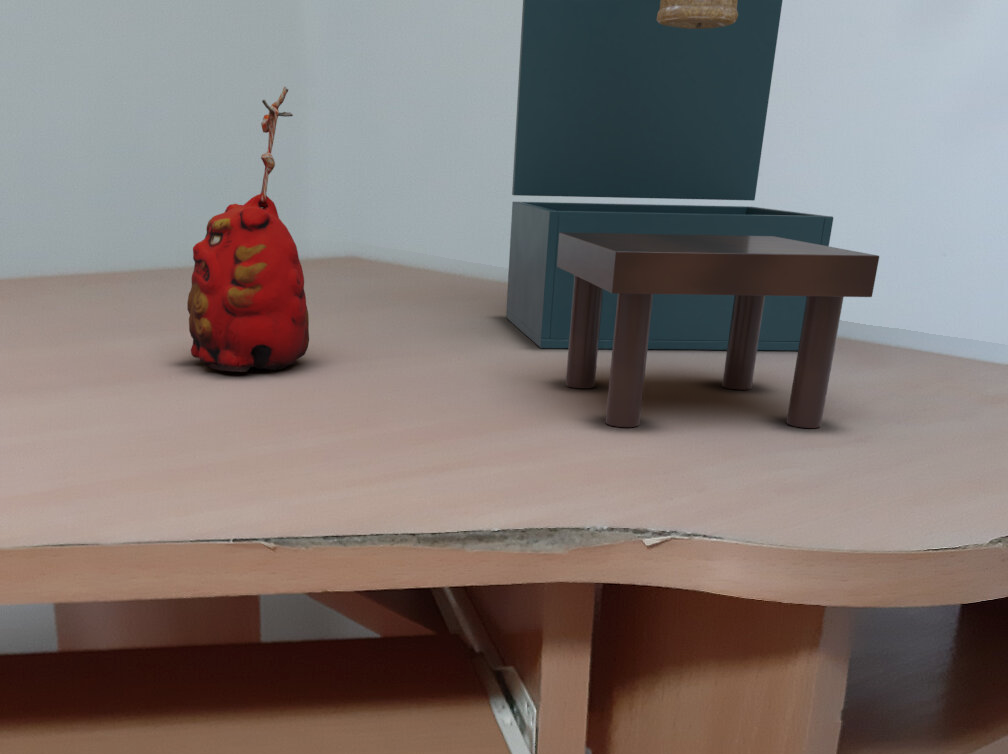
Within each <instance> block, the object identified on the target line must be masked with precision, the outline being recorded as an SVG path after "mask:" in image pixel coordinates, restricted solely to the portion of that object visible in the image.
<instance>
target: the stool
mask: <svg viewBox="0 0 1008 754" xmlns="http://www.w3.org/2000/svg"><path fill="white" fill-rule="evenodd" d="M879 260H880V256H879V255H877V254H872V253H867V252H860V251H855V250H851V249H845V248H839V247H833V246H830V245H829V246H824V245H818V244H813V243H807V242H802V241H796V240H791V239H785V238H780V237H775V236H729V235H676V234H622V233H568V232H560V233H559V243H558V257H557V267H559V268H561V269H563V270H565V271H567V272H569V273H571V274H573V275H574V286H573V299H572V311H571V324H570V336H569V348H567V349H568V351H567V361H566V373H565V374H566V375H565V386H566V387H569V388H572V389H581V390H582V389H583V390H585V389H593V388H594V387H595V385H596V377H597V363H598V354H599V353H598V352H599V349H598V343H599V332H600V321H601V310H602V298H603V289H604V290H607V291H609V292H611V293H613V294H618V296H617V307H616V317H615V328H614V338H613V349H611V359H610V369H609V370H610V371H609V381H608V382H609V383H608V392H607V393H608V394H607V400H606V401H607V402H606V413H605V423H606V424H607V425H608V426H612V427H616V428H633V427H634V428H635V427H638V426H639V425H640V421H641V413H642V405H643V404H642V403H643V393H644V384H645V376H646V366H647V358H648V357H647V356H648V350H649V349H648V339H649V330H650V321H651V312H652V302H653V294H680V295H734V303H733V310H732V317H731V325H730V332H729V339H728V347H727V350H726V355H725V361H724V362H725V363H724V370H723V377H722V382H721V383H722V384H721V386H722V387H723V388H726V389H731V390H738V391H743V390H744V391H745V390H750V389H752V387H753V381H754V374H755V367H756V361H757V355H758V350H757V347H758V341H759V334H760V327H761V320H762V314H763V307H764V300H765V296H807V299H806V305H805V311H804V317H803V323H802V329H801V336H800V342H799V348H798V351H797V354H796V361H795V362H796V363H795V367H794V372H793V379H792V386H791V392H790V396H789V397H790V398H789V404H788V408H787V409H788V410H787V416H786V424H787V425H789V426H792V427H796V428H803V429H815V428H816V429H817V428H820V427H821V426H822V423H823V417H824V411H825V405H826V399H827V393H828V389H829V382H830V378H831V371H832V366H833V360H834V354H835V348H836V342H837V337H838V331H839V326H840V320H841V314H842V308H843V302H844V298H872V297H873V294H874V293H873V292H874V287H875V282H876V277H877V272H878V266H879V262H880V261H879Z"/></svg>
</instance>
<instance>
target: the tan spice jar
mask: <svg viewBox="0 0 1008 754" xmlns="http://www.w3.org/2000/svg"><path fill="white" fill-rule="evenodd" d="M737 1H738V0H661V2H660V9H659V11H658V14H657V21H658V22H659V23H660V24H662V25H665V26H671V27H678V28H685V29H706V28H717V27H724V26H728V25H731V24H733V23H734V22H736V20H737V17H738V12H737Z"/></svg>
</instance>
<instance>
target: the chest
mask: <svg viewBox="0 0 1008 754" xmlns="http://www.w3.org/2000/svg"><path fill="white" fill-rule="evenodd" d="M833 222H834V216H832V215H822V214H814V213H808V212H807V213H806V212H798V211H791V210H784V209H783V210H782V209H775V208H765V207H758V206H748V205H747V206H743V205H698V204H697V205H692V204H653V203H652V204H649V203H647V204H646V203H599V202H598V203H597V202H596V203H595V202H554V201H553V202H549V201H512V205H511V222H510V240H509V256H508V257H509V259H508V261H509V262H508V277H507V292H506V293H507V294H506V308H505V309H506V312H505V318H506V319H507V320H508V321H509V322H510V323H512V324H513V325H514V326H515V327H516V328H517V329H518V330H519V331H520V332H522V333H523V334H524V335H525V336H526V337H528V339H529V340H531V341H532V342H533V343H534V344H535V345H537V347H538V348H540V349H569V336H570V324H571V311H572V299H573V286H574V275H573V274H571V273H569V272H567V271H565V270H563V269H561V268H559V267H557V257H558V243H559V233H560V232H568V233H622V234H676V235H729V236H775V237H780V238H785V239H791V240H796V241H802V242H807V243H813V244H818V245H824V246H829V247H830V241H831V236H832V229H833V224H834V223H833ZM617 296H618V294H613V293H611V292H609V291H607V290H604V289H603V298H602V310H601V321H600V332H599V343H598V350H599V349H601V350H612V349H613V338H614V328H615V317H616V307H617ZM806 299H807V296H765V300H764V307H763V314H762V320H761V327H760V334H759V341H758V347H757V351H785V352H786V351H787V352H788V351H789V352H793V351H794V352H795V351H797V352H798V348H799V342H800V336H801V329H802V323H803V317H804V311H805V305H806ZM733 303H734V295H680V294H653V302H652V312H651V321H650V330H649V339H648V349H647V350H677V351H678V350H679V351H680V350H685V351H686V350H687V351H689V350H691V351H694V350H695V351H727V347H728V339H729V332H730V325H731V317H732V310H733Z"/></svg>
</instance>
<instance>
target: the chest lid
mask: <svg viewBox="0 0 1008 754" xmlns="http://www.w3.org/2000/svg"><path fill="white" fill-rule="evenodd" d="M660 2H661V0H522V11H521V13H522V14H521V28H520V29H521V30H520V31H521V32H520V45H519V46H520V47H519V49H520V50H519V62H518V63H519V66H518V81H517V82H518V83H517V102H516V118H515V119H516V120H515V134H514V135H515V136H514V137H515V138H514V151H513V153H514V154H513V171H512V172H513V173H512V191H511V195H512V196H521V197H523V196H524V197H525V196H528V197H530V196H531V197H567V198H568V197H569V198H572V197H573V198H577V197H578V198H613V199H615V198H616V199H617V198H618V199H619V198H621V199H665V200H669V199H670V200H708V201H709V200H713V201H715V200H716V201H755V200H756V195H757V187H758V180H759V173H760V165H761V158H762V151H763V143H764V136H765V129H766V122H767V114H768V107H769V100H770V93H771V87H772V86H771V85H772V78H773V71H774V66H775V65H774V64H775V58H776V51H777V44H778V35H779V28H780V21H781V16H782V15H781V14H782V7H783V2H784V1H783V0H738V1H737V12H738V17H737V20H736V22H734V23H733V24H731V25H728V26H724V27H717V28H706V29H685V28H678V27H671V26H665V25H662V24H660V23H659V22H658V21H657V14H658V11H659V9H660Z"/></svg>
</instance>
